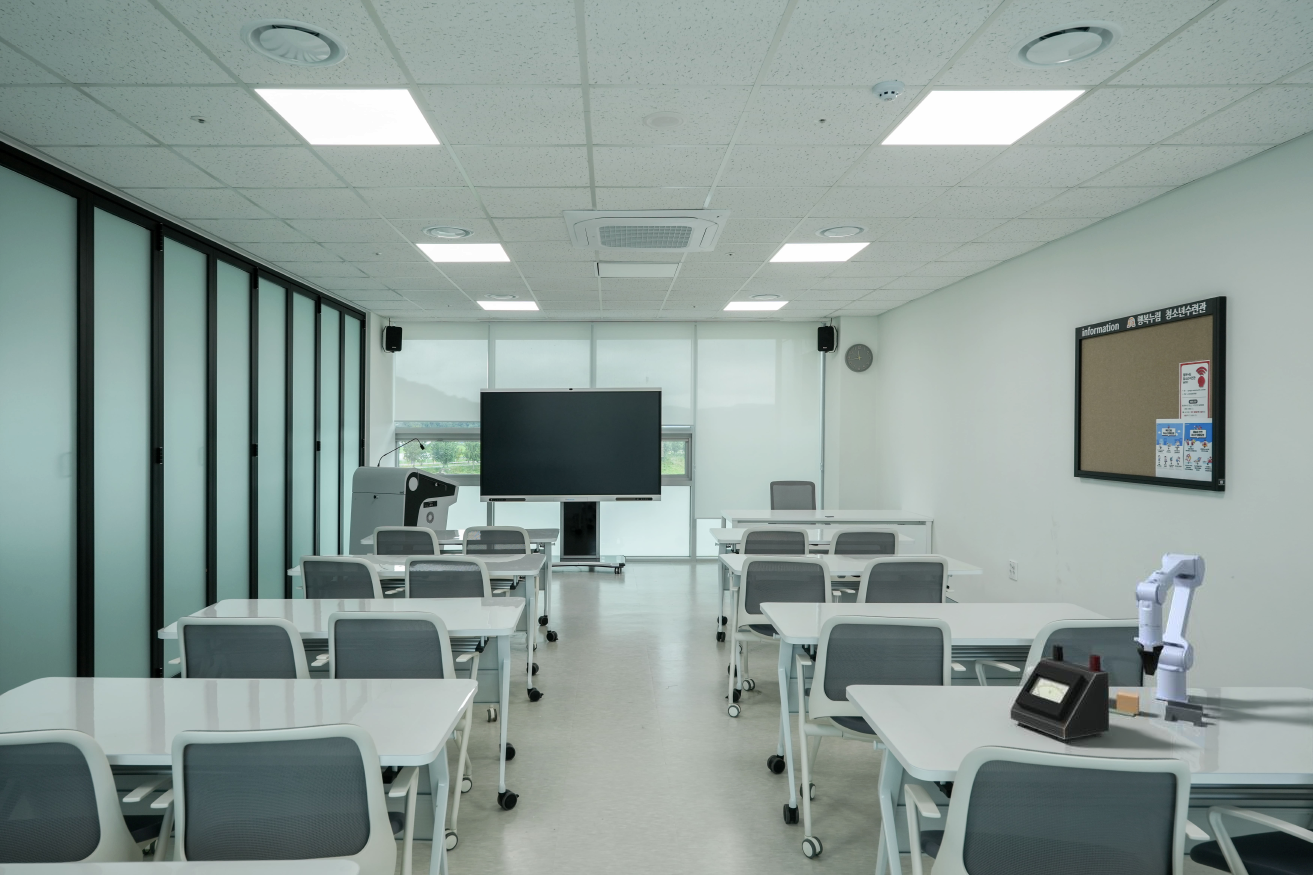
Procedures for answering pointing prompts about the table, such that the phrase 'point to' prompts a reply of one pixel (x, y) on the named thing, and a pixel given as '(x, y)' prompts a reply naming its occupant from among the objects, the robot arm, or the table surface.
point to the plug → (1125, 702)
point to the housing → (1184, 712)
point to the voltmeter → (1064, 698)
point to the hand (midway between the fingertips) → (1150, 672)
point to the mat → (1120, 712)
